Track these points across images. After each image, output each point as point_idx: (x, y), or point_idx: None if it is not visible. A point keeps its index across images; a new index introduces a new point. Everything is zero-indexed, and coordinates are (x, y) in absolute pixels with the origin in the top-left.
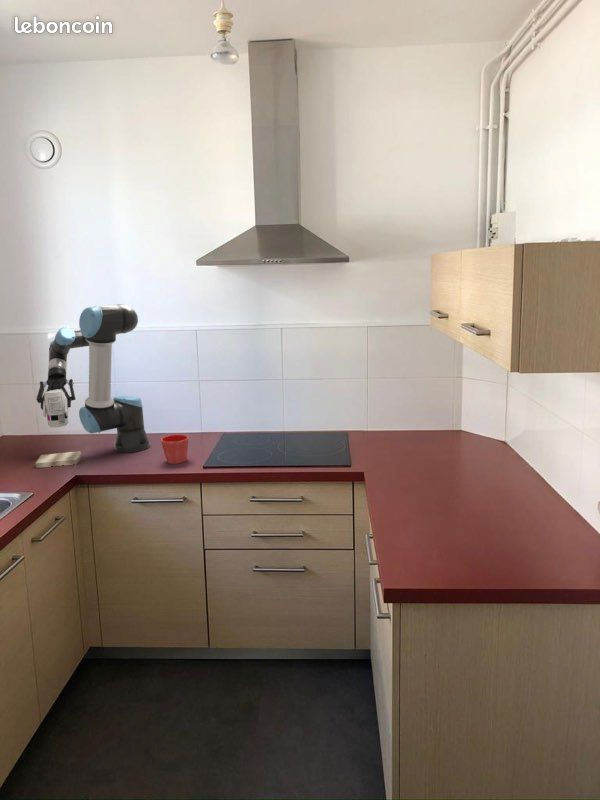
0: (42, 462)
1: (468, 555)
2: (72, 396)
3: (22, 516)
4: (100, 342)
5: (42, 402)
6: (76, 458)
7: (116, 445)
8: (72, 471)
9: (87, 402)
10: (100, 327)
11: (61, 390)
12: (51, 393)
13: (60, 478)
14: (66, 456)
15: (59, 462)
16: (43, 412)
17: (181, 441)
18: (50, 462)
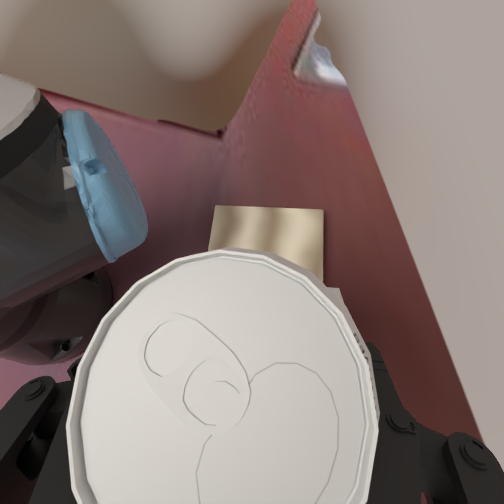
0: (304, 211)
1: None
2: (43, 384)
3: (293, 3)
4: None
5: (381, 399)
6: (215, 213)
7: (97, 282)
8: (229, 163)
9: (20, 87)
10: None
11: (85, 489)
12: (251, 257)
13: (252, 129)
14: (242, 243)
15: (259, 208)
16: (335, 294)
17: None
18: (282, 208)
